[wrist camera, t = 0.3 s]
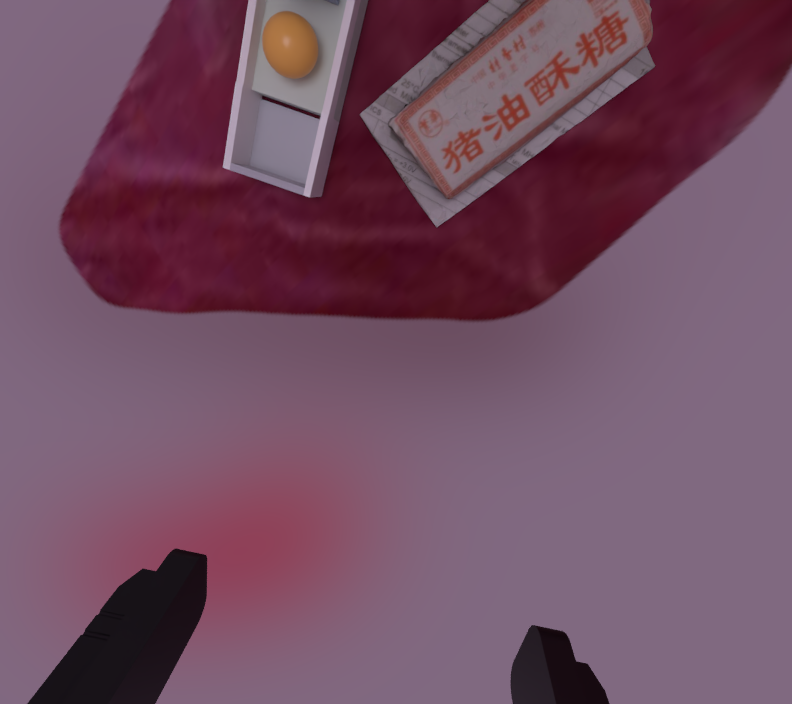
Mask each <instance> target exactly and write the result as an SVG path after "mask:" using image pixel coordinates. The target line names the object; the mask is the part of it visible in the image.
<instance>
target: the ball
mask: <svg viewBox="0 0 792 704" xmlns="http://www.w3.org/2000/svg"><path fill="white" fill-rule="evenodd" d="M262 46H263V51H264V54H265V57H266V59H267V61H268V62H269V64H270V65H271V67H272V68H273V69H274V70H275V71H276V72H277V73H279V74H280V75H282V76H284V77H286V78H291V79H298V78H302V77H304V76H306V75H307V74H309V73H310V72H311V71H312V69H313V68H314V66H315V64H316V62H317V58H318V51H319V49H318V41H317V37H316V34H315V32H314V30H313V28H312V26H311V25H310V24H309V22H308V21H307V20H306V19H305V18H303V17H302V16H301V15H299V14H297V13H295V12H291V11H282V12H278V13H276V14H274V15H273V16H272V17H271V18H270V19H269V20H268V21H267V23H266V25H265V27H264V30H263V34H262Z"/></svg>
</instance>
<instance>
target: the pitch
mask: <svg viewBox="0 0 792 704" xmlns="http://www.w3.org/2000/svg"><path fill="white" fill-rule="evenodd" d="M367 3H368V0H340V1H339V5H336V4H333V3H331V2H328V1H325V0H249V1H248V7H247V14H246V21H245V27H244V34H243V41H242V48H241V54H240V61H239V68H238V74H237V81H236V82H237V83H240V84H242V85H244V86H246V87H248V88H250V89H252V90H253V91H255V92H257V93H259V94H261V95H262V96H265V97H268V98H271V99H274V100H277V101H279V102H282V103H285V104H288V105H291V106H294V107H296V108H299V109H302V110H305V111H308V112H310V113H313V114H316V115H319V116H321V112H322V113H324V114H327V115H329V116H331V117H332V118H333V119H335V120H336V121H338V122H339V121H340V117H341V113H342V108H343V104H344V100H345V96H346V92H347V87H348V83H349V79H350V75H351V71H352V66H353V62H354V58H355V54H356V50H357V45H358V41H359V37H360V33H361V29H362V24H363V20H364V16H365V12H366V8H367ZM282 11H291V12H295V13H297V14H299V15H301V16H302V17H303V18H305V19H306V20H307V21H308V22H309V24H310V25H311V26H312V28H313V30H314V32H315V34H316V37H317V41H318V49H319V51H318V58H317V62H316V64H315V66H314V68H313V69H312V71H311V72H310V73H309V74H307V75H306V76H304V77H302V78H298V79H291V78H286V77H284V76H282V75H280V74H279V73H277V72H276V71H275V70H274V69H273V68H272V67H271V65H270V64H269V62H268V61H267V59H266V57H265V54H264V51H263V46H262V34H263V30H264V27H265V25H266V23H267V21H268V20H269V19H270V18H271V17H272V16H273V15H274V14H276V13H278V12H282Z"/></svg>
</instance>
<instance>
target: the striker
mask: <svg viewBox="0 0 792 704" xmlns="http://www.w3.org/2000/svg"><path fill="white" fill-rule="evenodd" d="M325 1H328V2H331V3H333V4H336V5H339V1H340V0H325Z"/></svg>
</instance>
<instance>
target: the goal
mask: <svg viewBox="0 0 792 704" xmlns="http://www.w3.org/2000/svg"><path fill="white" fill-rule="evenodd" d="M338 125H339V122H338V121H336V120H335V119H333V118H332V117H331V116H329V115H327V114H324V113H322V112H321V117H320V119H317V118H314V117H311V116H308V115H306V114H303V113H300V112H297V111H294V110H292V109H289V108H286V107H283V106H280V105H277V104H275V103H272V102H269V101H266V100H263V99H262V95H261V94H259V93H257V92H255V91H253V90H252V89H250V88H248V87H246V86H244V85H242V84H240V83H237V82H236V83H235V90H234V96H233V103H232V110H231V117H230V123H229V130H228V137H227V144H226V150H225V157H224V164H223V168H225V169H228V170H231V171H234V172H237V173H240V174H243V175H246V176H249V177H252V178H254V179H257V180H260V181H263V182H266V183H269V184H272V185H275V186H278V187H281V188H284V189H286V190H289V191H292V192H295V193H298V194H301V195H304V196H307V197H322V192H323V188H324V184H325V180H326V176H327V171H328V167H329V163H330V159H331V155H332V150H333V146H334V142H335V138H336V134H337V129H338Z"/></svg>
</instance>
